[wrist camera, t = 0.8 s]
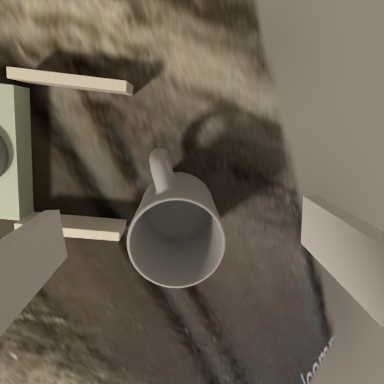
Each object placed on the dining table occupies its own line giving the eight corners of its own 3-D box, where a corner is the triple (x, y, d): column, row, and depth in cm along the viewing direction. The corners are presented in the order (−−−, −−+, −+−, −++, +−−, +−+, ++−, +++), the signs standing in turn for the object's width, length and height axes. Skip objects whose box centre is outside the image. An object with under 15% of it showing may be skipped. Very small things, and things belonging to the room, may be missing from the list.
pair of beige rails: (-36, 213, 33) (-65, 225, 29) (-51, 64, 29) (-86, 55, 25) (125, 227, 34) (119, 241, 30) (133, 85, 30) (126, 80, 26)
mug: (219, 228, 35) (236, 276, 24) (153, 245, 35) (142, 299, 25) (196, 134, 32) (204, 141, 21) (124, 152, 32) (97, 169, 21)
